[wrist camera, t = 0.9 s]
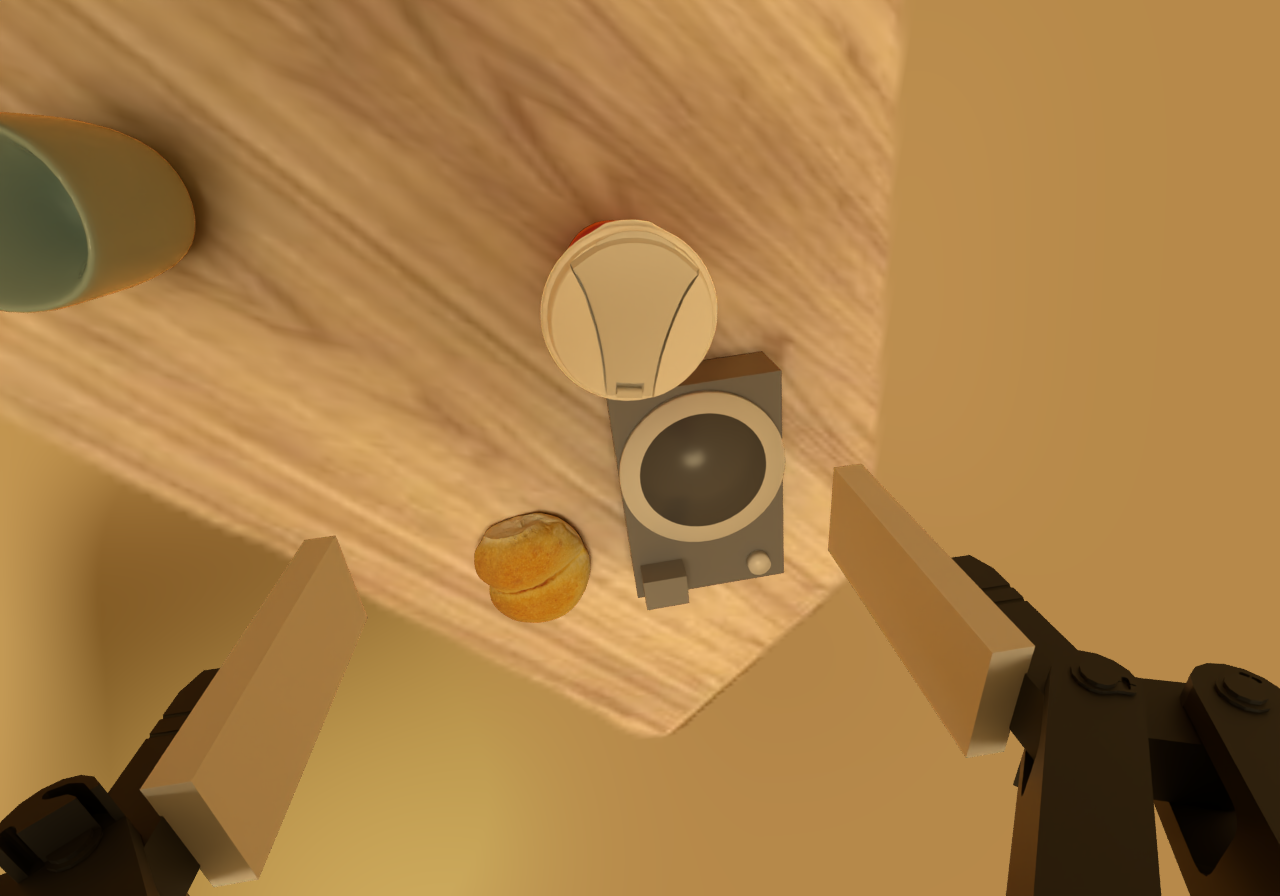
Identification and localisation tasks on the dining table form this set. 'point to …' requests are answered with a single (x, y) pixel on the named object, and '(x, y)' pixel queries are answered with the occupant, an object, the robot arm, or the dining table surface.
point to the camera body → (703, 478)
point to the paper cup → (628, 310)
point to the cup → (83, 213)
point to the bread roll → (533, 567)
